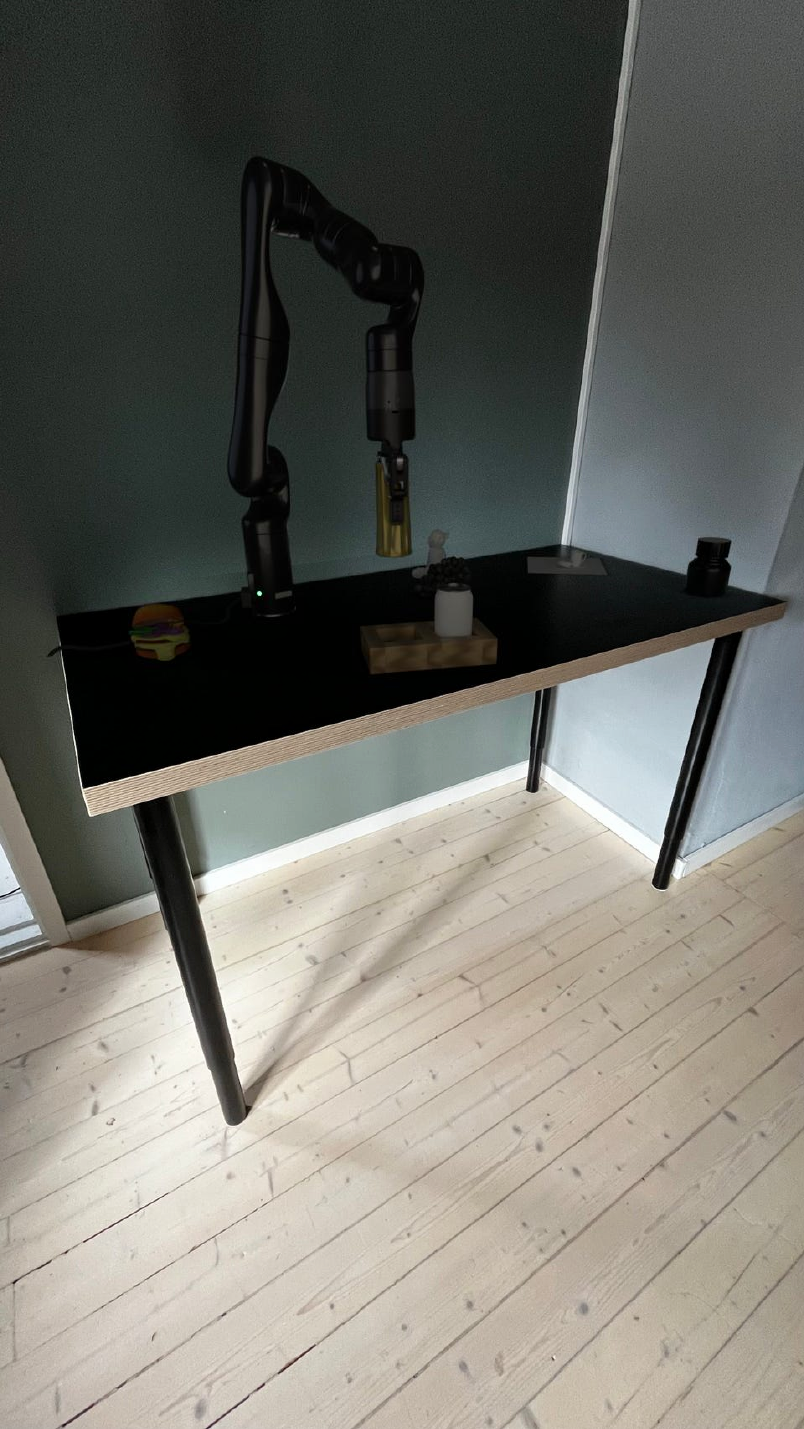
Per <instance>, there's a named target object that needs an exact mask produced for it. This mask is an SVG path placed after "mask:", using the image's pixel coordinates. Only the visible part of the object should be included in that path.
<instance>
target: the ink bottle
mask: <svg viewBox="0 0 804 1429" xmlns="http://www.w3.org/2000/svg"><path fill="white" fill-rule="evenodd" d="M732 542H733V541H732V539H730V538H726V537H720V536H719V537H717V536H703V537H699V538H697V542H696V548H695V557H694V558H693V559H692V560H690V561H689V562H688V564H687V569H686V575H685V578H684V584H683V591H684V592H685V593H686V594H689V595H690V596H696V597H700V598H701V597H702V598H718V597H724V596H726V594H727V591H728V587H729V581H730V577H731V572H732V565H731V563H730V562H729V560H727V559H728V558H729V555H730V551H731V546H732Z"/></svg>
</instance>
